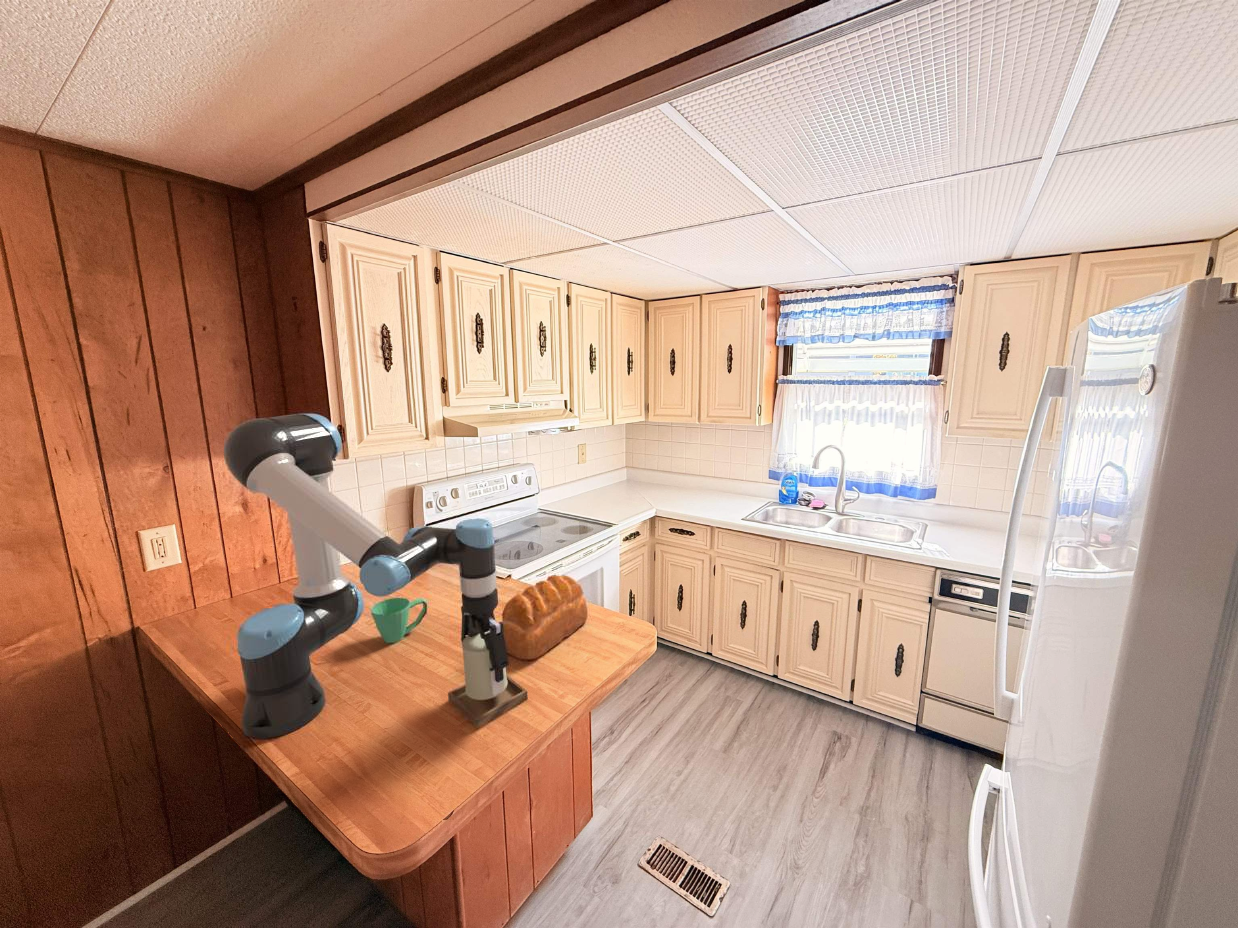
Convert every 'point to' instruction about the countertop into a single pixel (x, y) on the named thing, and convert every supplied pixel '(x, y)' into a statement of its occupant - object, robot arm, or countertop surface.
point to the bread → (543, 616)
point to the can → (478, 668)
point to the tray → (487, 703)
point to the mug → (396, 617)
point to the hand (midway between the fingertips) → (486, 682)
